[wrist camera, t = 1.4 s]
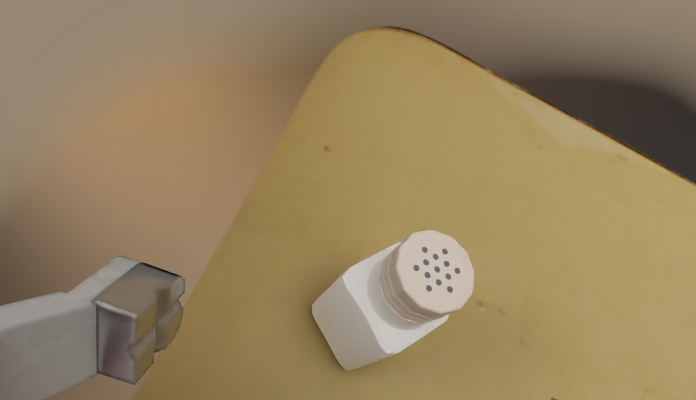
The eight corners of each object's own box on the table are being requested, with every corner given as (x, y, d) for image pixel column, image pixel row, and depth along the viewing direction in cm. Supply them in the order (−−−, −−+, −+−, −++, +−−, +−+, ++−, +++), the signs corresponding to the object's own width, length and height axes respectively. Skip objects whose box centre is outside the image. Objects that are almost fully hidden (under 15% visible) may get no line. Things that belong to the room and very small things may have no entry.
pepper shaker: (401, 338, 26) (504, 292, 18) (342, 377, 24) (427, 346, 16) (364, 274, 27) (445, 204, 19) (304, 307, 25) (365, 244, 17)
